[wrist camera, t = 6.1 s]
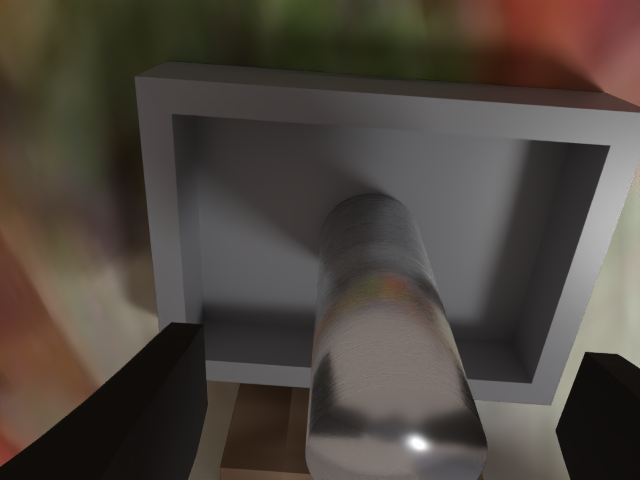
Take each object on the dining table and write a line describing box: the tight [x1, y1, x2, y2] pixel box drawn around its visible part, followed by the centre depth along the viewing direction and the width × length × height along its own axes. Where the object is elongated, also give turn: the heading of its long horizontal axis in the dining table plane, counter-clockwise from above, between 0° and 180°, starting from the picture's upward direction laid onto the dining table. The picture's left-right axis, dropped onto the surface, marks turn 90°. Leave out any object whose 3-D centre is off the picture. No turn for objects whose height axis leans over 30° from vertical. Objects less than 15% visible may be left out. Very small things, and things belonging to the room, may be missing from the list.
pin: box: [306, 193, 487, 480], centre depth 12 cm, size 3×3×8 cm
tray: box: [134, 61, 640, 405], centre depth 15 cm, size 12×9×2 cm
